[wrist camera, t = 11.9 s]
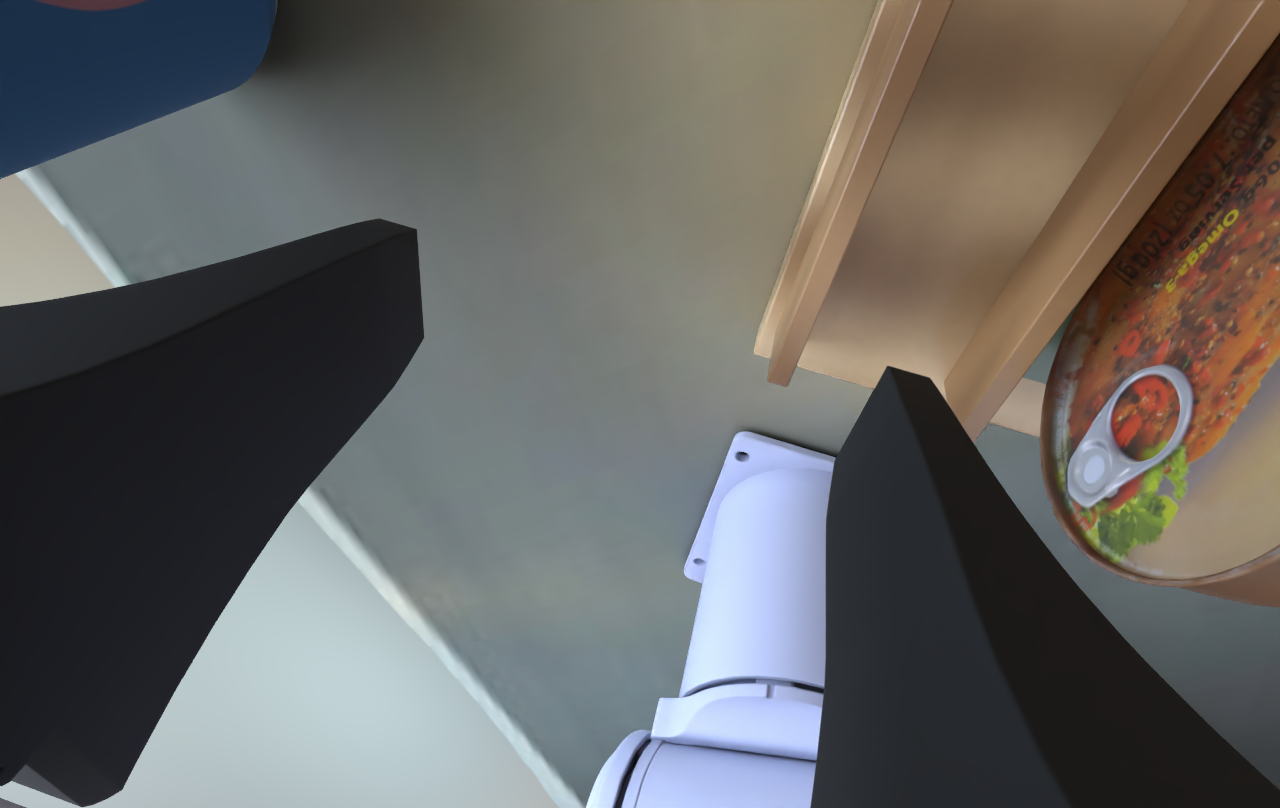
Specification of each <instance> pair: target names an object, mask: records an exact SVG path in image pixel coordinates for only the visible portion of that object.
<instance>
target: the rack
mask: <svg viewBox="0 0 1280 808" xmlns="http://www.w3.org/2000/svg"><path fill="white" fill-rule="evenodd" d="M1279 34H1280V0H878V1H877V4H876V7H875V9H874V12H873V15H872V18H871V21H870V23H869V26H868V29H867V32H866V34H865V37H864V40H863V43H862V45H861V48H860V51H859V54H858V56H857V59H856V62H855V65H854V67H853V70H852V73H851V76H850V78H849V81H848V84H847V87H846V90H845V92H844V95H843V98H842V101H841V103H840V106H839V109H838V112H837V114H836V117H835V120H834V123H833V125H832V128H831V131H830V134H829V136H828V139H827V142H826V145H825V147H824V150H823V153H822V156H821V159H820V161H819V164H818V167H817V170H816V172H815V175H814V178H813V181H812V183H811V186H810V189H809V192H808V194H807V197H806V200H805V203H804V205H803V208H802V211H801V214H800V216H799V219H798V222H797V225H796V228H795V230H794V233H793V236H792V239H791V241H790V244H789V247H788V250H787V252H786V255H785V258H784V261H783V263H782V266H781V269H780V272H779V274H778V277H777V280H776V283H775V285H774V288H773V291H772V294H771V297H770V299H769V302H768V305H767V308H766V310H765V313H764V316H763V319H762V321H761V324H760V327H759V330H758V332H757V337H756V342H755V346H754V354H756V355H759V356H763V357H766V358H770V365H769V371H768V376H767V381H768V382H769V383H773V384H776V385H780V386H783V387H787V386H788V384H789V382H790V380H791V377H792V375H793V373H794V370H795V368H796V366H797V367H800V368H804V369H807V370H811V371H814V372H818V373H821V374H824V375H828V376H831V377H835V378H838V379H842V380H845V381H848V382H852V383H855V384H859V385H862V386H866V387H869V388H872V389H875V387H876V385H877V383H878V382H879V380H880V378H881V376H882V374H883V373H884V371H885V369H886V367H887V365H888V366H891V367H895V368H898V369H902V370H905V371H909V372H912V373H915V374H919V375H922V376H926V377H929V378H931V380H932V381H933V383H934V384H935V385H936V387H937V388H938V390H939V391H940V393H941V394H942V396H943V397H944V399H945V400H946V402H947V403H948V405H949V406H950V408H951V409H952V411H953V412H954V414H955V416H956V417H957V419H958V420H959V422H960V423H961V425H962V426H963V428H964V430H965V431H966V433H967V434H968V436H969V437H970V439H971V440H972V442H974V441H975V440H976V439H977V437H978V436H979V435H980V433H981V432H982V431H983V429H984V428H985V427H986V425H987V424H988V423H992V424H996V425H999V426H1002V427H1006V428H1009V429H1013V430H1016V431H1020V432H1023V433H1026V434H1030V435H1033V436H1037V437H1040V424H1041V413H1042V404H1043V399H1044V394H1045V388H1046V383H1047V380H1048V376H1049V373H1050V370H1051V367H1052V364H1053V360H1054V357H1055V355H1056V352H1057V349H1058V347H1059V344H1060V342H1061V340H1062V337H1063V335H1064V333H1065V331H1066V329H1067V327H1068V325H1069V323H1070V320H1071V318H1072V316H1073V314H1074V312H1075V311H1076V309H1077V307H1078V305H1079V304H1080V302H1081V300H1082V299H1083V297H1084V295H1085V294H1086V292H1087V291H1088V289H1089V288H1090V287H1091V285H1092V284H1093V282H1094V281H1095V280H1096V278H1097V277H1098V276H1099V274H1100V273H1101V272H1102V270H1103V269H1104V268H1105V266H1106V265H1107V264H1108V262H1109V261H1110V260H1111V258H1112V257H1113V256H1114V254H1115V253H1116V252H1117V250H1118V249H1119V248H1120V246H1121V245H1122V243H1123V242H1124V241H1125V239H1126V238H1127V237H1128V235H1129V234H1130V233H1131V231H1132V230H1133V229H1134V228H1135V226H1136V225H1137V224H1138V222H1139V221H1140V220H1141V218H1142V217H1143V216H1144V214H1145V213H1146V212H1147V210H1148V209H1149V207H1150V206H1151V205H1152V203H1153V202H1154V201H1155V199H1156V198H1157V197H1158V195H1159V194H1160V193H1161V191H1162V190H1163V189H1164V188H1165V186H1166V185H1167V184H1168V183H1169V181H1170V180H1171V179H1172V178H1173V176H1174V175H1175V174H1176V172H1177V171H1178V169H1179V168H1180V167H1181V165H1182V164H1183V163H1184V161H1185V160H1186V159H1187V157H1188V156H1189V155H1190V153H1191V152H1192V151H1193V149H1194V148H1195V147H1196V145H1197V144H1198V143H1199V141H1200V140H1201V139H1202V137H1203V136H1204V135H1205V134H1206V132H1207V131H1208V129H1209V128H1210V126H1211V125H1212V124H1213V122H1214V121H1215V120H1216V119H1217V117H1218V116H1219V115H1220V113H1221V112H1222V110H1223V109H1224V108H1225V106H1226V105H1227V104H1228V103H1229V101H1230V100H1231V99H1232V97H1233V96H1234V94H1235V93H1236V92H1237V90H1238V89H1239V88H1240V86H1241V85H1242V84H1243V83H1244V81H1245V79H1246V78H1247V77H1248V75H1249V74H1250V73H1251V71H1252V70H1253V69H1254V68H1255V66H1256V65H1257V64H1258V62H1259V61H1260V60H1261V58H1262V57H1263V56H1264V54H1265V53H1266V52H1267V50H1268V49H1269V48H1270V46H1271V45H1272V43H1273V42H1274V41H1275V39H1276V38H1277V37H1278V35H1279Z"/></svg>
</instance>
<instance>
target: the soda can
mask: <svg viewBox="0 0 1280 808" xmlns="http://www.w3.org/2000/svg"><path fill="white" fill-rule="evenodd" d="M276 10H277V0H0V179H1V178H4V177H6V176H9V175H11V174H14V173H17V172H19V171H22V170H25V169H27V168H30V167H32V166H35V165H38V164H40V163H43V162H45V161H48V160H51V159H53V158H56V157H58V156H61V155H64V154H66V153H69V152H71V151H74V150H77V149H79V148H82V147H85V146H87V145H90V144H92V143H95V142H98V141H100V140H103V139H105V138H108V137H111V136H113V135H116V134H118V133H121V132H124V131H126V130H129V129H131V128H134V127H137V126H139V125H142V124H144V123H147V122H150V121H152V120H155V119H158V118H160V117H163V116H165V115H168V114H171V113H173V112H176V111H178V110H181V109H184V108H186V107H189V106H191V105H194V104H197V103H199V102H202V101H204V100H207V99H210V98H212V97H215V96H217V95H220V94H223V93H225V92H228V91H230V90H233V89H235V88H237V87H239V86H240V85H241V84H243V83H244V82H246V81H247V80H248V79H249V78H250V77H251V76H252V74H253V73H254V72H255V71H256V70H257V68H258V66H259V65H260V63H261V61H262V59H263V57H264V55H265V53H266V50H267V47H268V44H269V41H270V37H271V33H272V29H273V25H274V21H275V16H276Z"/></svg>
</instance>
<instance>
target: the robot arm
mask: <svg viewBox="0 0 1280 808" xmlns="http://www.w3.org/2000/svg"><path fill="white" fill-rule="evenodd" d="M423 339H424V329H423V314H422V300H421V285H420V270H419V256H418V241H417V229H414V228H410V227H407V226H403V225H400V224H396V223H393V222H390V221H386V220H383V219H374V220H369V221H364V222H359V223H355V224H351V225H347V226H344V227H340V228H336V229H333V230H329V231H326V232H323V233H319V234H316V235H312V236H309V237H306V238H302V239H299V240H296V241H292V242H289V243H285V244H282V245H279V246H275V247H272V248H269V249H265V250H262V251H258V252H255V253H252V254H248V255H245V256H241V257H238V258H234V259H231V260H227V261H223V262H219V263H215V264H211V265H208V266H204V267H200V268H196V269H192V270H188V271H185V272H181V273H177V274H173V275H169V276H165V277H162V278H158V279H153V280H149V281H145V282H140V283H136V284H131V285H127V286H122V287H117V288H113V289H107V290H102V291H97V292H91V293H86V294H80V295H75V296H70V297H64V298H59V299H53V300H47V301H41V302H34V303H26V304H19V305H11V306H4V307H0V786H3V785H5V784H7V783H9V782H10V781H13V782H16V783H19V784H21V785H24V786H27V787H29V788H32V789H35V790H37V791H40V792H43V793H46V794H48V795H51V796H54V797H56V798H59V799H62V800H64V801H67V802H70V803H72V804H75V805H78V806H81V807H85V806H90V805H93V804H96V803H98V802H100V801H103V800H105V799H108V798H109V797H111V796H113V795H114V794H116V793H118V792H119V791H121V790H122V789H123V787H124V785H125V783H126V781H127V779H128V777H129V775H130V774H131V772H132V770H133V768H134V766H135V764H136V762H137V760H138V758H139V756H140V754H141V752H142V751H143V749H144V747H145V745H146V743H147V742H148V740H149V738H150V736H151V734H152V732H153V730H154V729H155V727H156V725H157V723H158V721H159V719H160V718H161V716H162V714H163V712H164V710H165V708H166V707H167V705H168V703H169V701H170V699H171V697H172V696H173V694H174V692H175V690H176V688H177V687H178V685H179V683H180V682H181V679H182V678H183V677H184V675H185V673H186V671H187V670H188V668H189V666H190V665H191V663H192V661H193V659H194V658H195V656H196V655H197V653H198V651H199V649H200V648H201V646H202V644H203V643H204V641H205V639H206V638H207V636H208V634H209V633H210V631H211V629H212V628H213V626H214V624H215V622H216V621H217V619H218V618H219V616H220V615H221V613H222V612H223V610H224V608H225V606H226V605H227V604H228V602H229V601H230V599H231V597H232V596H233V594H234V593H235V591H236V590H237V588H238V586H239V585H240V583H241V582H242V580H243V579H244V577H245V575H246V574H247V572H248V571H249V569H250V568H251V566H252V565H253V563H254V562H255V560H256V559H257V557H258V556H259V554H260V553H261V551H262V550H263V549H264V547H265V546H266V544H267V542H268V541H269V540H270V538H271V537H272V535H273V534H274V532H275V531H276V530H277V528H278V527H279V525H280V524H281V522H282V521H283V519H284V518H285V516H286V515H287V514H288V512H289V511H290V509H291V508H292V507H293V506H294V504H295V503H296V502H297V501H298V499H299V498H300V497H301V496H302V494H303V493H304V492H305V490H306V489H307V488H308V487H309V486H310V484H311V483H312V482H313V481H314V480H315V479H316V478H317V476H318V475H319V474H320V473H321V472H322V471H323V469H324V468H325V467H326V466H327V465H328V464H329V462H330V461H331V460H332V459H333V458H334V457H335V455H336V454H337V453H338V452H339V451H340V450H341V448H342V447H343V446H344V445H345V444H346V443H347V441H348V440H349V439H350V438H351V437H352V436H353V435H354V433H355V432H356V431H357V430H358V429H359V428H360V426H361V425H362V424H363V423H364V422H365V421H366V419H367V418H368V417H369V416H370V415H371V413H372V412H373V411H374V410H375V409H376V408H377V406H378V405H379V404H380V403H381V402H382V400H383V399H384V398H385V397H386V396H387V394H388V393H389V392H390V391H391V389H392V388H393V387H394V386H395V384H396V383H397V381H398V379H399V378H400V376H401V375H402V373H403V372H404V370H405V369H406V367H407V366H408V364H409V362H410V361H411V359H412V357H413V356H414V354H415V352H416V350H417V349H418V347H419V345H420V344H421V342H422V340H423ZM738 452H745V453H747V454H746V455H743V454H740V453H738ZM684 574H685V576H687V577H688V578H689V579H691V580H694V581H697V582H701V583H703V585H702V590H701V595H700V600H699V604H698V609H697V614H696V619H695V623H694V628H693V633H692V638H691V643H690V647H689V652H688V657H687V662H686V667H685V671H684V676H683V681H682V686H681V691H680V695H679V698H660V699H659V703H658V707H657V711H656V715H655V720H654V724H653V728H652V731H648V730H638V731H635V732H632V733H631V734H630V735H628V736H627V737H626V738H625V739H624V740H623V741H622V743H621V744H620V745H619V746H618V748H617V749H616V751H615V752H614V753H613V754H612V755H611V756H610V757H609V759H608V760H607V761H606V763H605V764H604V766H603V768H602V769H601V771H600V773H599V775H598V777H597V779H596V782H595V784H594V786H593V789H592V791H591V794H590V797H589V800H588V803H587V807H586V808H1280V790H1279V789H1278V788H1277V787H1276V786H1275V785H1273V784H1272V783H1271V782H1270V781H1269V780H1268V779H1267V778H1266V777H1264V776H1263V775H1262V774H1261V773H1260V772H1259V771H1258V770H1257V769H1256V768H1255V767H1254V766H1252V765H1251V764H1250V763H1249V762H1248V761H1247V760H1246V759H1245V758H1244V757H1243V756H1242V755H1241V754H1240V753H1239V752H1237V751H1236V750H1235V749H1234V748H1233V747H1232V746H1231V745H1230V744H1229V743H1228V742H1227V741H1226V740H1225V739H1224V738H1222V737H1221V736H1220V735H1219V734H1218V733H1217V732H1216V731H1215V730H1214V729H1213V728H1212V727H1211V726H1210V725H1209V724H1208V723H1207V722H1206V721H1205V720H1204V719H1203V718H1202V717H1201V716H1200V715H1199V714H1198V713H1197V712H1196V711H1195V710H1194V709H1193V708H1192V707H1191V706H1190V705H1189V704H1188V703H1187V702H1186V701H1185V700H1184V699H1183V698H1182V697H1181V696H1180V695H1179V694H1178V693H1177V692H1176V691H1175V690H1174V689H1173V688H1172V687H1171V686H1170V685H1169V684H1168V683H1167V682H1166V681H1165V680H1164V679H1163V678H1162V677H1161V676H1160V675H1159V674H1158V673H1157V672H1156V671H1155V670H1154V669H1153V668H1152V667H1151V666H1150V665H1149V664H1148V663H1147V662H1146V661H1145V660H1144V659H1143V658H1142V657H1141V656H1140V655H1139V654H1138V653H1137V652H1136V650H1135V649H1134V648H1133V647H1132V646H1131V645H1130V644H1129V643H1128V642H1127V641H1126V640H1125V639H1124V638H1123V637H1122V636H1121V634H1120V633H1119V632H1118V631H1117V630H1116V629H1115V628H1114V626H1113V625H1112V624H1111V623H1110V622H1109V621H1108V620H1107V618H1106V617H1105V616H1104V615H1103V614H1102V613H1101V612H1100V611H1099V609H1098V608H1097V607H1096V606H1095V605H1094V604H1093V603H1092V601H1091V600H1090V599H1089V598H1088V597H1087V596H1086V595H1085V594H1084V592H1083V591H1082V590H1081V589H1080V588H1079V587H1078V585H1077V584H1076V583H1075V582H1074V581H1073V579H1072V578H1071V577H1070V576H1069V575H1068V573H1067V572H1066V571H1065V570H1064V568H1063V567H1062V566H1061V565H1060V564H1059V562H1058V561H1057V560H1056V559H1055V557H1054V556H1053V555H1052V553H1051V552H1050V551H1049V549H1048V548H1047V547H1046V545H1045V544H1044V543H1043V542H1042V540H1041V539H1040V538H1039V536H1038V535H1037V534H1036V532H1035V531H1034V530H1033V528H1032V527H1031V526H1030V524H1029V523H1028V522H1027V521H1026V519H1025V518H1024V516H1023V515H1022V514H1021V512H1020V511H1019V510H1018V508H1017V507H1016V505H1015V504H1014V503H1013V501H1012V500H1011V498H1010V497H1009V496H1008V494H1007V493H1006V491H1005V490H1004V488H1003V487H1002V485H1001V484H1000V483H999V481H998V480H997V478H996V477H995V475H994V474H993V472H992V471H991V469H990V468H989V466H988V465H987V463H986V462H985V460H984V459H983V457H982V456H981V454H980V453H979V451H978V450H977V448H976V447H975V445H974V444H973V442H972V440H971V439H970V437H969V436H968V434H967V433H966V431H965V430H964V428H963V426H962V425H961V423H960V422H959V420H958V419H957V417H956V416H955V414H954V412H953V411H952V409H951V408H950V406H949V405H948V403H947V402H946V400H945V399H944V397H943V396H942V394H941V393H940V391H939V390H938V388H937V387H936V385H935V384H934V383H933V381H932V380H931V378H929V377H926V376H922V375H919V374H915V373H912V372H909V371H905V370H902V369H898V368H895V367H891V366H888V365H887V367H886V369H885V371H884V373H883V374H882V376H881V378H880V380H879V382H878V383H877V385H876V387H875V389H874V391H873V392H872V394H871V396H870V398H869V400H868V402H867V403H866V405H865V407H864V409H863V411H862V412H861V414H860V416H859V418H858V420H857V421H856V423H855V425H854V427H853V429H852V430H851V432H850V434H849V436H848V438H847V439H846V441H845V443H844V445H843V447H842V448H841V450H840V452H839V454H838V456H837V458H835V457H832V456H829V455H825V454H822V453H819V452H815V451H812V450H809V449H805V448H802V447H799V446H795V445H792V444H789V443H786V442H782V441H779V440H776V439H772V438H769V437H766V436H762V435H759V434H756V433H752V432H747V431H744V432H740V433H738V434H736V436H735V437H734V439H733V442H732V444H731V447H730V450H729V452H728V455H727V457H726V460H725V463H724V465H723V468H722V470H721V473H720V476H719V478H718V481H717V483H716V486H715V489H714V491H713V494H712V496H711V499H710V502H709V504H708V507H707V509H706V512H705V515H704V517H703V520H702V522H701V525H700V528H699V530H698V533H697V535H696V538H695V541H694V543H693V546H692V548H691V551H690V554H689V556H688V559H687V561H686V564H685V568H684ZM0 808H26V807H23V806H20V805H18V804H15V803H12V802H10V801H7V800H4V799H1V798H0Z"/></svg>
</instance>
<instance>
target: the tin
mask: <svg viewBox="0 0 1280 808" xmlns="http://www.w3.org/2000/svg"><path fill="white" fill-rule="evenodd" d="M1040 455H1041V467H1042V475H1043V480H1044V485H1045V488H1046V492H1047V496H1048V499H1049V501H1050V503H1051V505H1052V509H1053V512H1054V514H1055V516H1056V518H1057V520H1058V522H1059V523H1060V525H1061V526H1062V528H1063V530H1064V531H1065V533H1066V534H1067V535H1068V537H1069V538H1070V539H1071V541H1072V542H1073V543H1074V544H1075V545H1076V546H1077V547H1078V549H1079V550H1080V551H1081V552H1082V553H1083V554H1084V555H1085V556H1086V557H1088V558H1089V559H1090V560H1091V561H1093V562H1094V563H1096V564H1097V565H1099V566H1101V567H1102V568H1104V569H1106V570H1108V571H1110V572H1112V573H1114V574H1116V575H1118V576H1121V577H1123V578H1126V579H1129V580H1132V581H1135V582H1139V583H1144V584H1149V585H1155V586H1167V587H1178V588H1182V589H1186V590H1190V591H1194V592H1198V593H1202V594H1206V595H1210V596H1214V597H1218V598H1223V599H1227V600H1231V601H1236V602H1241V603H1246V604H1252V605H1260V606H1269V607H1278V608H1280V34H1279V35H1278V37H1277V38H1276V39H1275V41H1274V42H1273V43H1272V45H1271V46H1270V48H1269V49H1268V50H1267V52H1266V53H1265V54H1264V56H1263V57H1262V58H1261V60H1260V61H1259V62H1258V64H1257V65H1256V66H1255V68H1254V69H1253V70H1252V71H1251V73H1250V74H1249V75H1248V77H1247V78H1246V79H1245V81H1244V83H1243V84H1242V85H1241V86H1240V88H1239V89H1238V90H1237V92H1236V93H1235V94H1234V96H1233V97H1232V99H1231V100H1230V101H1229V103H1228V104H1227V105H1226V106H1225V108H1224V109H1223V110H1222V112H1221V113H1220V115H1219V116H1218V117H1217V119H1216V120H1215V121H1214V122H1213V124H1212V125H1211V126H1210V128H1209V129H1208V131H1207V132H1206V134H1205V135H1204V136H1203V137H1202V139H1201V140H1200V141H1199V143H1198V144H1197V145H1196V147H1195V148H1194V149H1193V151H1192V152H1191V153H1190V155H1189V156H1188V157H1187V159H1186V160H1185V161H1184V163H1183V164H1182V165H1181V167H1180V168H1179V169H1178V171H1177V172H1176V174H1175V175H1174V176H1173V178H1172V179H1171V180H1170V181H1169V183H1168V184H1167V185H1166V186H1165V188H1164V189H1163V190H1162V191H1161V193H1160V194H1159V195H1158V197H1157V198H1156V199H1155V201H1154V202H1153V203H1152V205H1151V206H1150V207H1149V209H1148V210H1147V212H1146V213H1145V214H1144V216H1143V217H1142V218H1141V220H1140V221H1139V222H1138V224H1137V225H1136V226H1135V228H1134V229H1133V230H1132V231H1131V233H1130V234H1129V235H1128V237H1127V238H1126V239H1125V241H1124V242H1123V243H1122V245H1121V246H1120V248H1119V249H1118V250H1117V252H1116V253H1115V254H1114V256H1113V257H1112V258H1111V260H1110V261H1109V262H1108V264H1107V265H1106V266H1105V268H1104V269H1103V270H1102V272H1101V273H1100V274H1099V276H1098V277H1097V278H1096V280H1095V281H1094V282H1093V284H1092V285H1091V287H1090V288H1089V289H1088V291H1087V292H1086V294H1085V295H1084V297H1083V299H1082V300H1081V302H1080V304H1079V305H1078V307H1077V309H1076V311H1075V312H1074V314H1073V316H1072V318H1071V320H1070V323H1069V325H1068V327H1067V329H1066V331H1065V333H1064V335H1063V337H1062V340H1061V342H1060V344H1059V347H1058V349H1057V352H1056V355H1055V357H1054V360H1053V364H1052V367H1051V370H1050V373H1049V376H1048V380H1047V383H1046V388H1045V394H1044V399H1043V404H1042V413H1041V424H1040Z"/></svg>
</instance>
